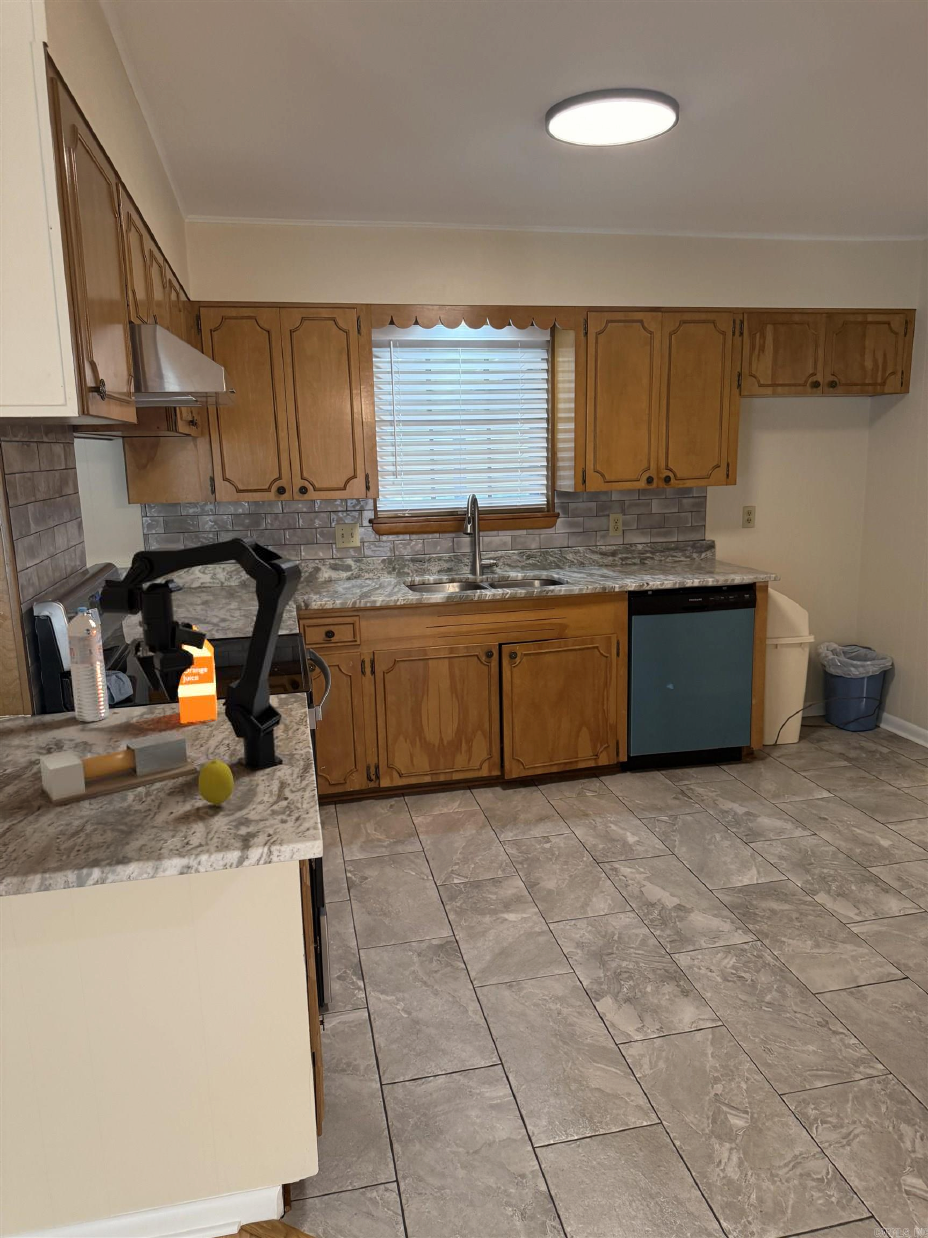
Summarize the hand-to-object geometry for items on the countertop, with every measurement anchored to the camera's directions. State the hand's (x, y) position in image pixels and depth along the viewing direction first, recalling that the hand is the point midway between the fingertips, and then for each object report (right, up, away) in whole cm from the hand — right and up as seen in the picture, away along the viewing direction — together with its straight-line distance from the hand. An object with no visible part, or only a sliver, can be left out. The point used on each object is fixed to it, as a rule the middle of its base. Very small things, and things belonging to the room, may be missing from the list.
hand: (164, 696), depth 159 cm
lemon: (+16, -16, -21) cm, 32 cm away
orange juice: (-2, -7, +27) cm, 28 cm away
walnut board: (-4, -14, -10) cm, 18 cm away
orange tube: (-7, -13, -12) cm, 19 cm away
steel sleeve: (+1, -13, -6) cm, 15 cm away
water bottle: (-25, -8, +26) cm, 37 cm away
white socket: (-12, -15, -15) cm, 25 cm away
